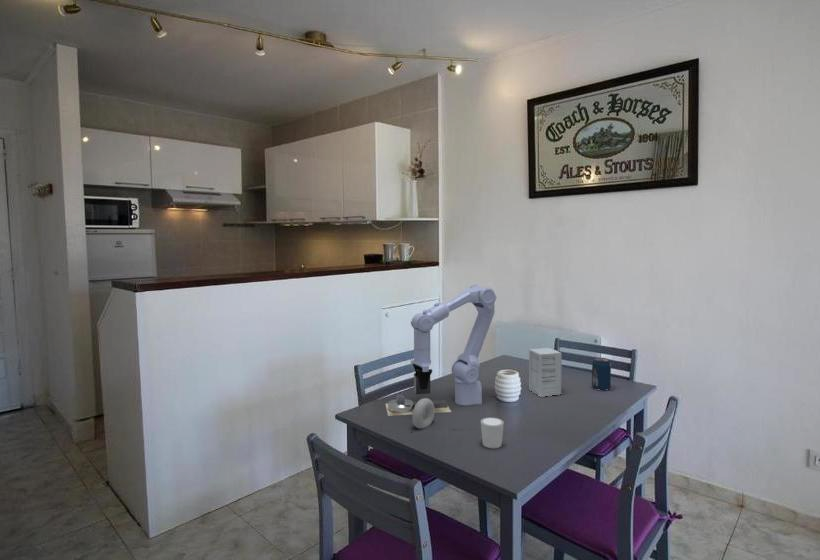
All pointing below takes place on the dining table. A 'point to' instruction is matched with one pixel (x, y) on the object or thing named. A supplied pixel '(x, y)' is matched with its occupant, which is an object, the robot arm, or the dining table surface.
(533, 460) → the dining table surface
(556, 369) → the supplement box
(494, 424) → the shot glass
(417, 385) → the charcoal matte cube
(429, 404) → the donut
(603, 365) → the soda can
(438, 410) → the board
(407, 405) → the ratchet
